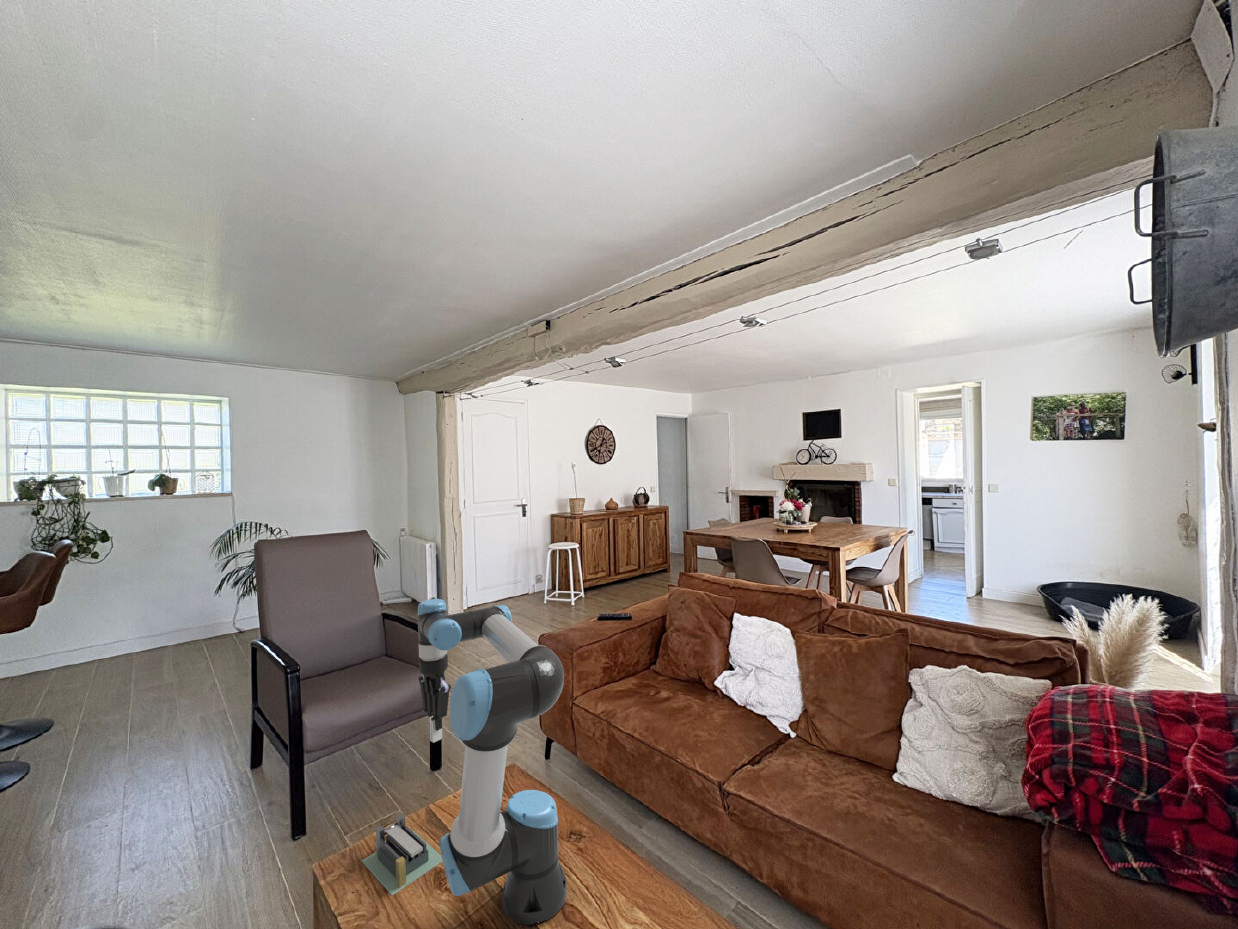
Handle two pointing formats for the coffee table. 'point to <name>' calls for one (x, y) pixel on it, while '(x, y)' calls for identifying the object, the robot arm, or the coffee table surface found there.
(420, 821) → the coffee table surface
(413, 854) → the grey flat bar
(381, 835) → the pivot bracket
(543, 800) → the robot arm
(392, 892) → the board
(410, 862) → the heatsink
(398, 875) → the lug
